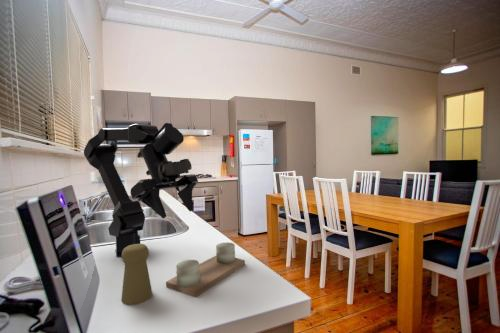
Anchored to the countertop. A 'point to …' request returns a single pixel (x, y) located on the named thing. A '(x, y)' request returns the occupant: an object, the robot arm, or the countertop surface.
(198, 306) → the countertop surface
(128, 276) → the olive pepper mill
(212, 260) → the spice board
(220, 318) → the countertop surface
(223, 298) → the countertop surface
